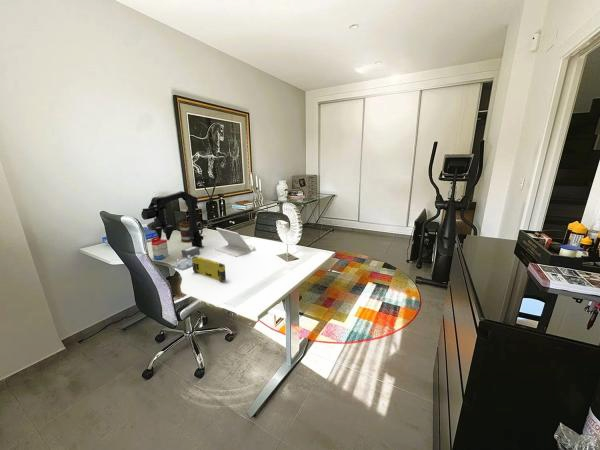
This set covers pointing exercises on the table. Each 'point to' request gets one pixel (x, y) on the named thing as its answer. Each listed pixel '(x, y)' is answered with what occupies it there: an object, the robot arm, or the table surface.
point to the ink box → (159, 248)
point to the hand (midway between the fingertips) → (164, 239)
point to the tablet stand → (234, 244)
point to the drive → (190, 252)
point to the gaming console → (209, 268)
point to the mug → (183, 230)
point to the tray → (183, 263)
